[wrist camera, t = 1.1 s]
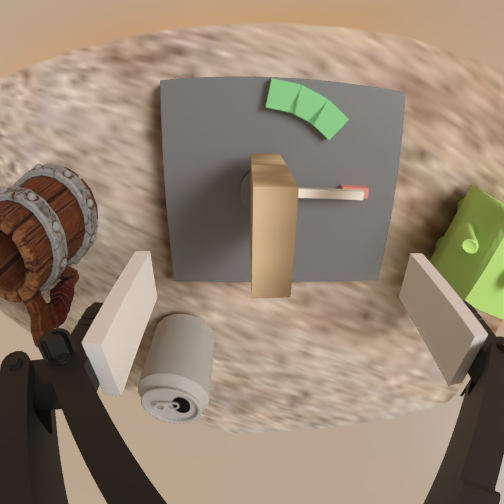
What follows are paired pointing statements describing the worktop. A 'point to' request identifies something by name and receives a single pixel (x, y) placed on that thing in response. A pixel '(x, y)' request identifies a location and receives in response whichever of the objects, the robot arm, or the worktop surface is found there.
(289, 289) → the peg key
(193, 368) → the can
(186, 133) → the board
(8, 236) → the mug
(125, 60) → the worktop surface
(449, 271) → the kettle
